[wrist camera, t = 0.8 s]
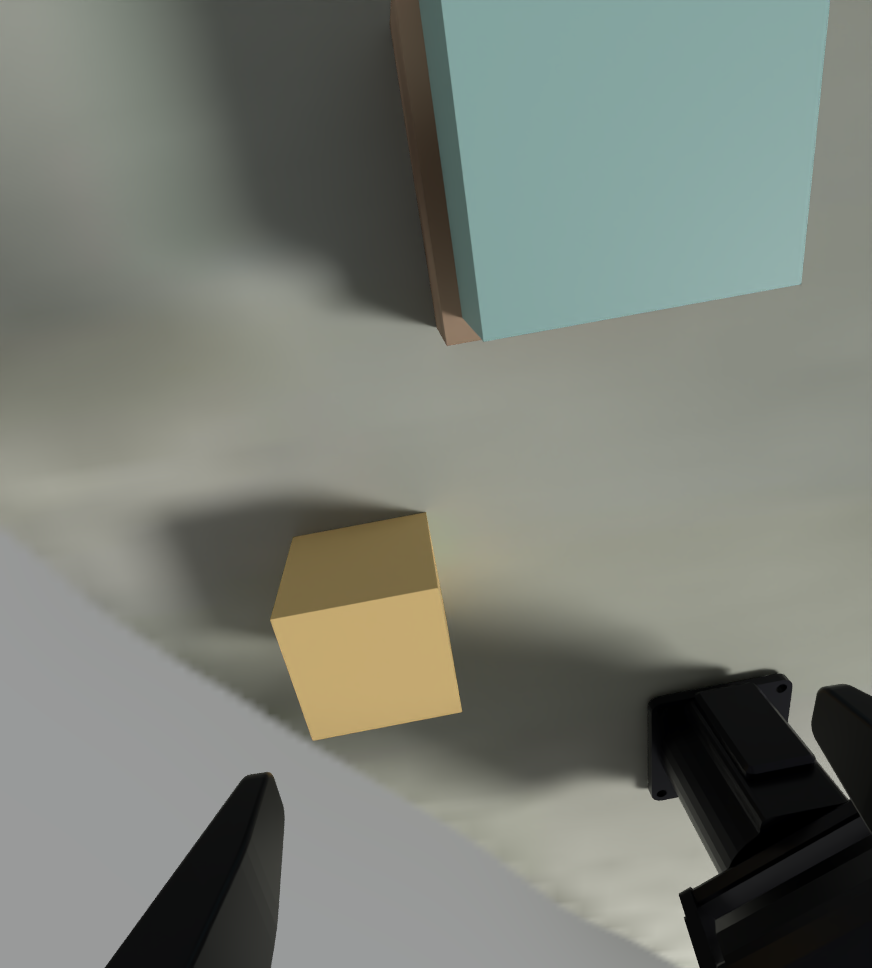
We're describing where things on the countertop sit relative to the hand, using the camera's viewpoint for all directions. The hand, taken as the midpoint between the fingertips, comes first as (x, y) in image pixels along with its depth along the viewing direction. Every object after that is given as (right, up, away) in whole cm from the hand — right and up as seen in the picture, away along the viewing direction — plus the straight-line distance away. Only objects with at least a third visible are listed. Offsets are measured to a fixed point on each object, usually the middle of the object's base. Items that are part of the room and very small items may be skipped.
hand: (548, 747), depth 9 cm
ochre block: (-4, +1, +13) cm, 14 cm away
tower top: (+2, +13, +5) cm, 13 cm away
